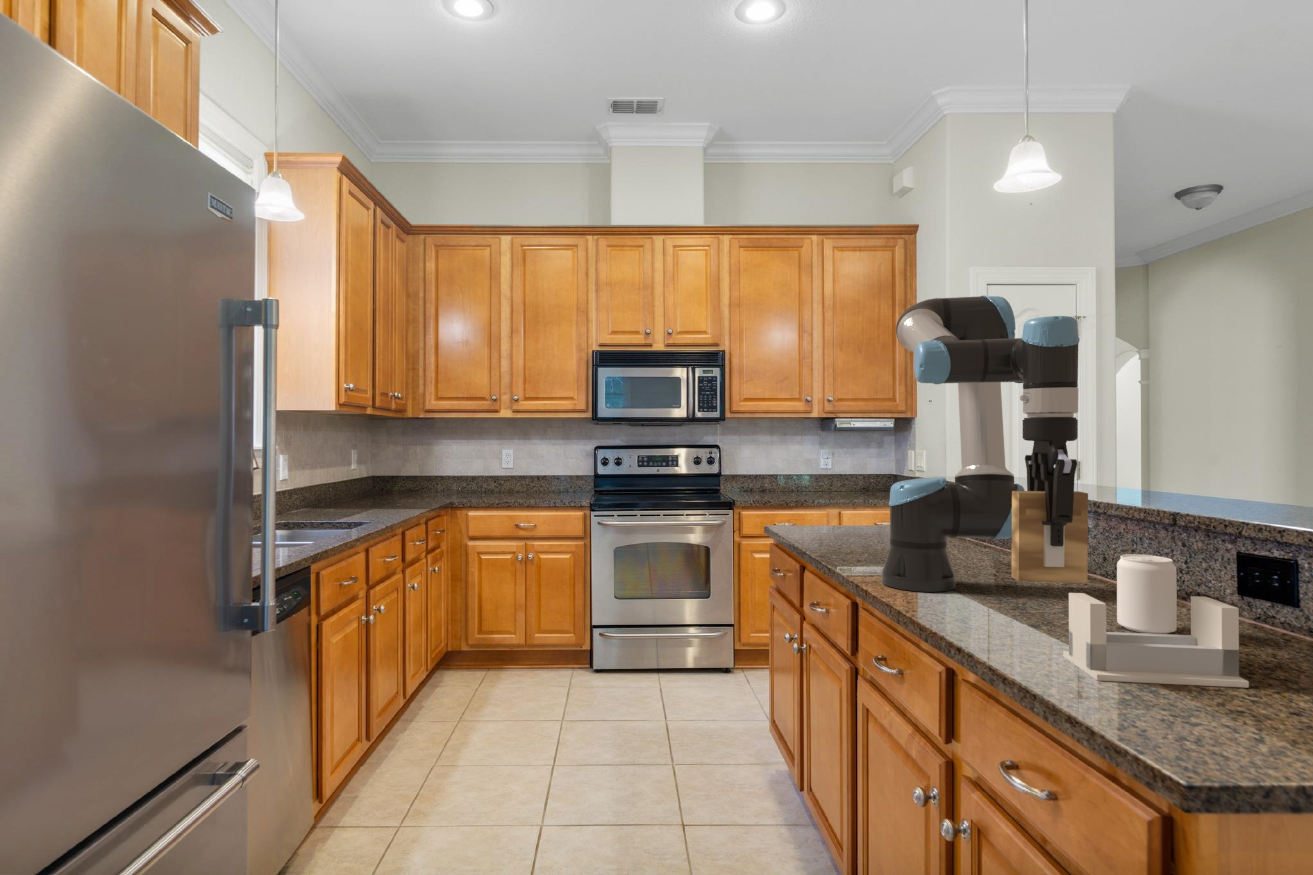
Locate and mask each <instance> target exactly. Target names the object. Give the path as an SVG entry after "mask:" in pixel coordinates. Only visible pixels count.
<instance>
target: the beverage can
mask: <svg viewBox="0 0 1313 875" xmlns="http://www.w3.org/2000/svg"><path fill="white" fill-rule="evenodd" d="M1119 557H1120V559H1119V560H1117V563H1116V620H1117V621H1116V622H1117V623H1118V624H1119V625H1120V626H1122V627H1123V628H1125V629H1127V630H1129V631H1132V632H1134V633H1146V634H1171V633H1174V632H1176V631H1178V630H1177V627H1178V626H1177V625H1178V624H1177V623H1178V622H1177V620H1178V618H1177V615H1178V614H1177V612H1178V609H1177V605H1178V604H1177V603H1178V602H1177V601H1178V600H1177V592H1178V590H1177V589H1178V587H1177V577H1178V576H1177V574H1178V573H1177V567H1176V565H1175V564H1174V561H1173V559H1171V558H1169V557H1164V556H1157V555H1151V554H1135V553H1132V554H1131V553H1129V554H1121V555H1120V556H1119Z"/></svg>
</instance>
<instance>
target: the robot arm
mask: <svg viewBox="0 0 1313 875" xmlns="http://www.w3.org/2000/svg"><path fill="white" fill-rule="evenodd" d="M1078 326H1079V325H1078V321H1077V319H1076V318H1074V317H1072V316H1070V315H1069V316H1067V315H1054V316H1053V315H1052V316H1051V315H1050V316H1041V317H1035V318H1030V319H1027V320H1026V321H1025V322H1024V324H1023V328H1022V335H1021V337H1017V338H1016V333H1015V331H1016V318H1015V315H1014V310H1013V308H1012V306H1011V304H1010V302H1009V301H1008V300H1007V299H1006V298H1005V297H1003V296H998V295H997V296H996V295H995V296H993V295H990V296H989V295H985V294H984V295H980V296H961V297H960V296H958V297H944V298H943V297H942V298H941V297H935V298H929V299H925V300H922V301H920V302H917V303H915V304H913V305H911V306H910V307H908V308H907V309H906V310H905V311H903V313H902V314H901V315H900V316H899V318H898V319H897V322H896V325H895V335H896V338H897V340H898V342H899V343H900V344H901V346H902V347H903V348H905V349H906V350H908V351H910V352H913V373H914V378H915V380H916V381H917V382H918V383H920V384H933V385H942V384H957V388H958V389H957V390H958V409H959V410H958V412H959V433H960V435H959V438H960V458H961V469H960V470H959V471H957V473H956V474H955V475H954V483H948V480H947V479H946V478H945V477H943V476H942V477H941V476H936V477H922V478H913V479H905V480H900V481H897V482H894V483H893V484H892V486H891V487H890V490H889V502H888V506H889V550H888V553H887V556H886V559H885V562H884V565H883V568H882V570H881V583H882V584H883V585H885V586H886V587H890V588H894V589H897V590H903V591H904V590H905V591H911V592H921V593H922V592H924V593H926V592H927V593H928V592H929V593H930V592H931V593H933V592H934V593H937V592H938V593H939V592H946V591H952V590H954V589H956V587H957V586H956V585H957V582H956V579H957V577H956V574H955V572H954V568H953V565H952V563H951V560H950V557H949V554H948V548H947V547H948V546H947V542H948V541H947V539H948V538H949V539H950V538H954V539H955V538H956V539H957V538H958V539H985V540H986V539H988V540H996V539H997V540H998V539H1002V540H1003V539H1012V491H1045V498H1046V516H1047V521H1042V524H1043V525H1044V566H1045V567H1064V540H1065V525H1066V524H1067V523H1072V520H1073V500H1074V491H1075V476H1076V471H1077V466H1078V462H1077V461H1078V460H1077V459H1076V458H1075V459H1074V458H1072V459H1071V458H1069V452H1068V448H1067V442H1073V441H1076V440H1077V439H1078V437H1079V435H1078V433H1079V432H1078V431H1079V430H1078V426H1079V420H1078V419H1077V417H1074V416H1075V415H1074V414H1078V412H1079V387H1078V386H1079V384H1078V383H1079V382H1078V381H1079V379H1078V378H1079V344H1080V337H1079V327H1078ZM1002 383H1015V384H1022V395H1020V396H1019V399H1020V401H1021V402H1022V413H1023V414H1025V415H1027V416H1026V417H1024V418H1023V419H1022V439H1023V441H1027V442H1030V441H1031V442H1033V446H1032V453H1031V454H1025V457H1024V461H1025V467H1026V490H1025V488H1024V486H1023V485H1021V484H1019V483H1015V475H1014V474H1013V473H1012V472H1011V471H1010V470H1009V469H1007V466H1006V453H1005V436H1004V435H1005V434H1004V433H1005V432H1004V418H1003V399H1002Z"/></svg>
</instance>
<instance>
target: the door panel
mask: <svg viewBox="0 0 1313 875" xmlns="http://www.w3.org/2000/svg"><path fill="white" fill-rule="evenodd" d="M1042 521H1047V516H1046V498H1045V491H1027V490H1025V491H1012V538H1011V578H1013V579H1014V580H1016V581H1017V582H1027V583H1028V582H1031V583H1063V584H1064V583H1065V584H1066V583H1067V584H1069V583H1070V584H1071V583H1072V584H1088V568H1089V567H1088V565H1089V564H1088V563H1089V562H1088V561H1089V559H1088V557H1089V556H1088V555H1089V554H1088V552H1089V551H1088V549H1089V548H1088V545H1089V544H1088V542H1089V540H1088V539H1089V535H1088V534H1089V530H1088V529H1089V493H1087V492H1083V491H1075V490H1074V500H1073V520H1072V523H1067V524H1066V525H1065V540H1064V567H1045V566H1044V525H1043V524H1042Z"/></svg>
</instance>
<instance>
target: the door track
mask: <svg viewBox="0 0 1313 875" xmlns="http://www.w3.org/2000/svg"><path fill="white" fill-rule="evenodd" d="M1239 609H1240V608H1239V607H1237V606H1233V605H1232V604H1227V603H1225V602H1222V601H1219V600H1217V599H1213V598H1211V597H1209V596H1195V595H1193V596H1190V634H1171V633H1168V634H1146V633H1140V632H1117V631H1114V632H1113V631H1107V603H1105V602H1103V601H1101V600H1098V599H1097V598H1095V597H1093V596H1091V595H1089V594H1087V593H1085V592H1068V650H1063V652H1062V654H1063V657H1064V658H1065V659H1067V660H1068V661H1069V662H1071V663H1072V664H1073V665H1075V666H1076V667H1078V668H1079V669H1080V670H1082V671H1083V672H1084V673H1085V674H1088V675H1089V676H1090V677H1092V678H1093V679H1094V680H1095V681H1099V682H1100V681H1101V682H1102V681H1103V682H1121V683H1123V682H1124V683H1141V684H1144V683H1145V684H1146V683H1147V684H1165V685H1181V686H1183V685H1184V686H1187V685H1188V686H1206V687H1224V688H1225V687H1226V688H1246V689H1247V688H1249V687H1250V685H1249V684H1250V682H1249V681H1248V680H1246V679H1245V678H1244V677H1241V676H1240V654H1239V653H1240V652H1239V651H1240V648H1239V647H1240V643H1239V642H1240V632H1239V629H1240V625H1239V620H1240V619H1239V618H1240V617H1239V616H1240V615H1239V613H1240V612H1239V611H1240V610H1239Z"/></svg>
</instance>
